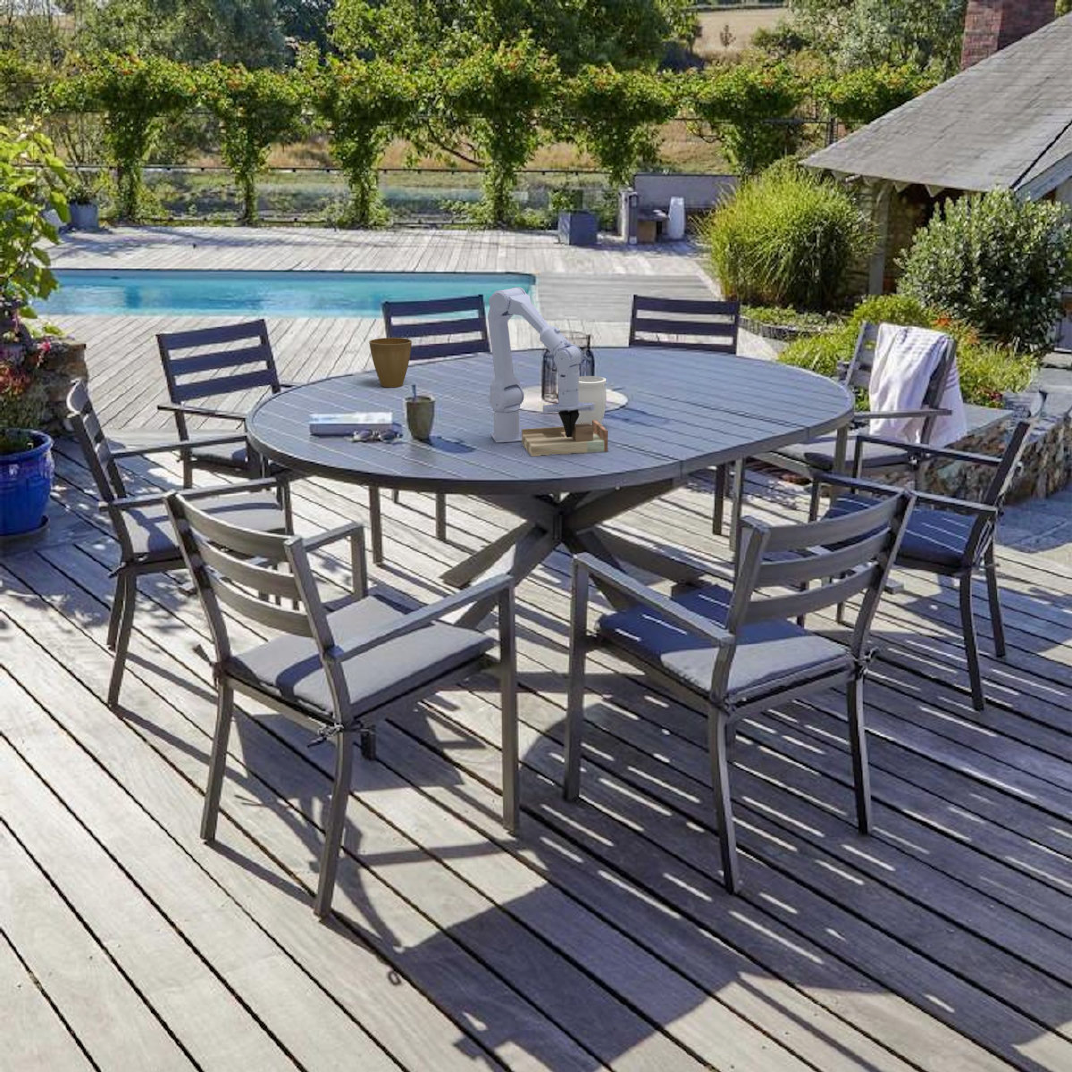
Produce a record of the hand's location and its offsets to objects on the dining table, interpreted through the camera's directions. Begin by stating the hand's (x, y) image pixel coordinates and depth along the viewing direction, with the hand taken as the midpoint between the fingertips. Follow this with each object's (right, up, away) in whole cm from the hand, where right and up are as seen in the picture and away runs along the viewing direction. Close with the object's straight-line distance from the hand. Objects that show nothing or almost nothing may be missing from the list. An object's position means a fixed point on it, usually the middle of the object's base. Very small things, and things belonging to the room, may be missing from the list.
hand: (568, 436), depth 356 cm
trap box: (-1, -3, +4) cm, 5 cm away
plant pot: (-60, +25, +89) cm, 110 cm away
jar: (+7, +5, +27) cm, 28 cm away
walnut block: (+4, -1, +1) cm, 4 cm away
